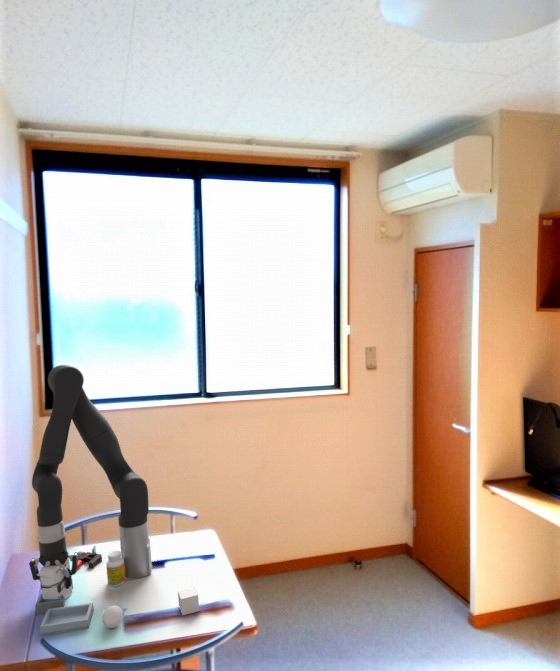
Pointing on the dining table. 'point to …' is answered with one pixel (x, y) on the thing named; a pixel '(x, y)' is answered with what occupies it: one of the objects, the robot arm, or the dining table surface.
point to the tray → (67, 619)
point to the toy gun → (89, 558)
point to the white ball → (112, 616)
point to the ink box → (54, 583)
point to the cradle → (48, 604)
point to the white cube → (188, 600)
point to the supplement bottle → (115, 569)
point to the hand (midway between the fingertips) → (57, 589)
